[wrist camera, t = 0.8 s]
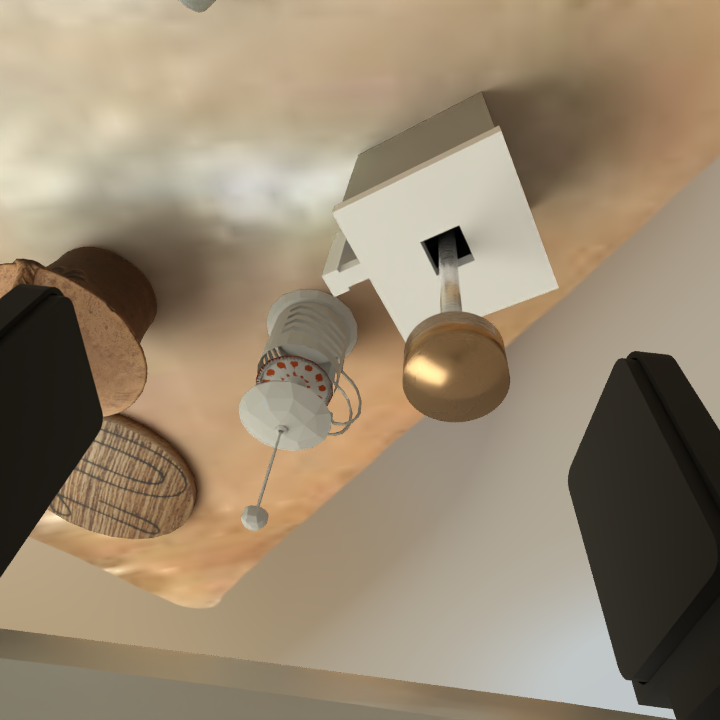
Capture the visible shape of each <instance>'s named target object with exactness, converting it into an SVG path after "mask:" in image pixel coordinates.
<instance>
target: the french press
mask: <svg viewBox="0 0 720 720" xmlns="http://www.w3.org/2000/svg"><path fill="white" fill-rule="evenodd" d="M267 328H268V335H269V339H268V342H267V344H266V347H265V349H264V352H263V354H262V357H261V359H260V362H259V364H258V375H257V377H256V383H257V385H255V386H254V387H253V388H251V389H250V390H249V391H248V392H246V393H245V394H244V395H243V398H242V400H241V402H240V405H239V407H238V408H239V414H240V420H241V422H242V423H243V425H244V426H245V428H246V429H247V431H248V432H249V433H250V434H251V435H252V436H254V437H255V438H256V439H258V440H259V441H260V442H262V443H263V444H266V445H269V446H272V447H274V451H273V454H272V457H271V461H270V464H269V467H268V470H267V474H266V477H265V480H264V483H263V487H262V490H261V493H260V496H259V500H258V503H257V506H252V505H251V506H247V507H246V508H244V510H243V513H242V516H241V521H242V523H243V524H244V526H245V527H246V528H247V529H250V530H252V531H254V530H259V529H261V528H262V527H264V526H265V525H266V524H267V520H268V513H267V512H266V510H264V509H263V508H261V507H259V506H260V503H261V500H262V496H263V493H264V490H265V486H266V483H267V480H268V476H269V473H270V470H271V467H272V463H273V460H274V457H275V453H276V450H277V449H280V450H292V451H299V450H303V449H308V448H313V447H314V446H316V445H317V444H319V443H320V442H322V441H323V440H325V438H326V436H327V435H330V436H336V435H340V434H343V433H344V432H345V431H346V430H347V429H348V428H349V426H350V424H351V423H353V422H354V421H355V420H356V419H357V418H358V417H359V415H360V414H361V403H362V402H361V397H360V394H359V391H358V388H357V387H356V385H355V384H354V382H353V381H352V380H351V379H350V378H349V377H348V376H347V375H346V373H345V372H344V371H343V364H344V358H345V357H346V356H347V355H349V354H350V353H351V352H352V350H353V348H354V346H355V344H356V342H357V340H358V336H357V323H356V321H355V318H354V316H353V314H352V312H351V310H350V309H349V308H348V307H347V306H346V305H345V304H343V303H342V302H341V301H340V300H339V299H338V298H337V297H334V296H332V295H330V294H327V293H325V292H322V291H320V290H304V289H299V290H296V291H293V292H290V293H287V294H284V295H283V296H282V297H280V298H279V299H278V300H277V301H276V302H275V303H274V304H273V305H272V306H271V309H270V311H269V314H268V317H267ZM275 347H276V348H277V349H278V351H279V353H280V355H281V357H279V356H278V354H277V352H276V350H275ZM271 349H272V351H273V353H274V355H275V357H276V358H273V356H272V354H271V351H270V350H271ZM267 352H268V354H269V357H270V359H271V360H269V361H268V358H267V354H266V353H267ZM264 357H265V361H266V364H264V363H263V359H264ZM339 362H340V364H339ZM335 373H337V381H336V382H335V381H334V378H335ZM340 373H342V374H343V375H344V376H345V377H346V378H347V379H348V381H349V382H350V383H351V384H352V386H353V387H354V388H355V390H356V392H357V395H358V399H359V408H358V413H357V415H356V416H355V418H354V419H352V409H351V405H350V401H349V399H348V397H347V395H346V394H345V392H344V391H343V390H342V389H341V388H340V387H339V386H338V382H339V378H340ZM333 383H334V385H335V390H336V389H337V388H338V389H339V390H340V391H341V393H342V394H343V395H344V397H345V398H346V400H347V403H348V406H349V412H350V417H349V421H348V422H345V423H338V422H335V421H333V419H332V417H333V413H332V412H330V411H329V410H328V408H327V406H328V404H329V402H330V400H331V398H332V396H333V388H332V385H333ZM335 390H334V392H335ZM351 419H352V420H351ZM331 422H332V424H334V425H342V426H345V425H347V426H346V427H345V428H344V429H343V430H342V431H340V432H337V433H329V431H330V429H331Z"/></svg>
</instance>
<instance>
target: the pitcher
mask: <svg viewBox="0 0 720 720" xmlns="http://www.w3.org/2000/svg"><path fill="white" fill-rule="evenodd" d="M19 284H32V285H41V286H50V287H56V288H58V289H60V290H61V292H62V293H63V295H64V296H65V297H68V298H70V300H71V301H72V303H73V305H74V309H75V313H76V316H77V320H78V324H79V327H80V331H81V335H82V338H83V342H84V346H85V349H86V353H87V357H88V360H89V364H90V368H91V371H92V375H93V379H94V383H95V386H96V390H97V394H98V397H99V401H100V405H101V408H102V412H103V417H104V416H109V415H113V414H116V413H119V412H121V411H123V410H125V409H127V408H128V407H130V406H131V405H132V404H133V403H135V401H136V400H137V398H138V397H139V396H140V395H141V393H142V392H143V389H144V386H145V383H146V379H147V363H146V358H145V355H144V352H143V349H142V347H141V345H140V343H141V340H142V338H143V336H144V334H145V332H146V331H147V329H148V328H149V326H150V325H151V323H152V322H153V320H154V317H155V314H156V310H157V309H156V308H157V304H156V299H155V295H154V293H153V290H152V288H151V286H150V284H149V282H148V281H147V279H146V278H145V277H144V275H143V274H142V273H141V272H140V271H139V270H138V269H137V268H136V267H134V266H133V265H132V264H131V263H129V262H128V261H126V260H124V259H123V258H121V257H119V256H118V255H116V254H114V253H112V252H109V251H106V250H103V249H98V248H92V247H83V248H78V249H74V250H71V251H69V252H67V253H65V254H64V255H63V256H62V257H60V258H59V259H58V260H57V261H55V262H54V263H52V264H50V265H49V266H47V267H45V266H43V265H41V264H40V263H38V262H36V261H33V260H28V259H16V260H15V261H14V262H13V263H6V264H0V298H1V297H3V296H4V295H5V294H6V293H8V292H9V291H10V290H11V289H13V288H14V287H15V286H17V285H19Z"/></svg>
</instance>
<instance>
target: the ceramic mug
mask: <svg viewBox="0 0 720 720" xmlns="http://www.w3.org/2000/svg"><path fill="white" fill-rule="evenodd" d="M179 1H180V2H181V3H182V4H183V5H185V6H186V7H187V8H189V9H191V10H193V11H196V12H203V11H205V10H207V9H208V8H209V7H210V6H211V5H212V4H213V3H214V2H215V1H216V0H179Z"/></svg>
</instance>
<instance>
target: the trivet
mask: <svg viewBox="0 0 720 720" xmlns="http://www.w3.org/2000/svg"><path fill="white" fill-rule="evenodd" d="M196 496H197V487H196V482H195V477H194V474H193V473H192V471H191V469H190V467H189V466H188V464H187V462H186V460H185V459H184V458H183V457H182V456H181V454H180V453H179V452H178V451H177V450H176V449H175V448H174V447H173V446H172V445H171V444H170V443H169V442H168V441H166V440H165V439H164V438H162V437H161V436H159V435H158V434H157V433H155V432H154V431H152V430H151V429H150V428H148V427H146V426H144V425H142V424H140V423H138V422H136V421H134V420H131V419H129V418H127V417H125V416H123V415H119V414H113V415H109V416H104V417H103V423H102V427H101V430H100V432H99V434H98V435H97V437H96V438H95V440H94V441H93V443H92V444H91V445H90V447H89V448H88V450H87V451H86V453H85V454H84V456H83V457H82V459H81V460H80V462H79V463H78V464H77V466H76V467H75V469H74V470H73V472H72V473H71V475H70V476H69V478H68V479H67V481H66V482H65V483H64V485H63V486H62V488H61V489H60V491H59V492H58V494H57V495H56V497H55V498H54V500H53V501H52V503H51V504H50V505H49V507H48V508H47V509H48V510H49V511H51V512H53V513H55V514H56V515H58V516H60V517H61V518H63V519H65V520H66V521H68V522H70V523H73V524H75V525H77V526H80V527H82V528H85V529H87V530H89V531H93V532H96V533H100V534H104V535H108V536H111V537H120V538H128V539H144V538H154V537H158V536H162V535H166V534H169V533H171V532H173V531H174V530H176V529H177V528H179V527H181V526H182V525H183V524H184V523H185V521H186V520H187V519H188V517H189V516H190V515H191V513H192V510H193V508H194V505H195V501H196Z"/></svg>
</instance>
